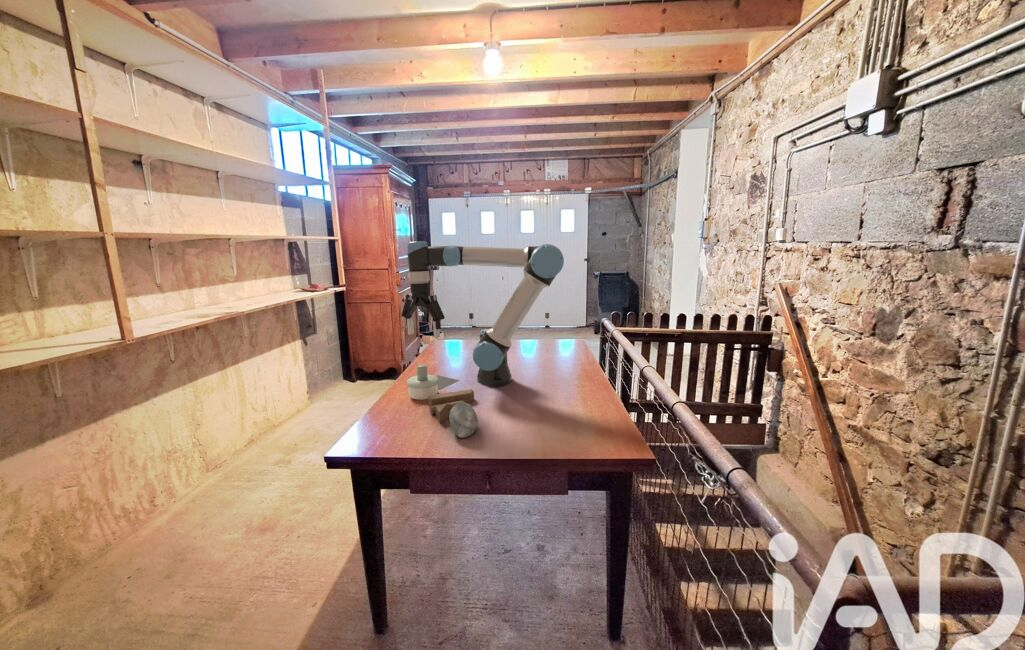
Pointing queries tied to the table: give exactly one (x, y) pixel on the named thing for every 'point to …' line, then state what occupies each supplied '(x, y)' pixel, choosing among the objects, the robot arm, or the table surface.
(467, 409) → the grey rock
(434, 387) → the bowl
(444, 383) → the trivet
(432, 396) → the brown jagged block
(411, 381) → the lid
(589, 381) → the table surface
